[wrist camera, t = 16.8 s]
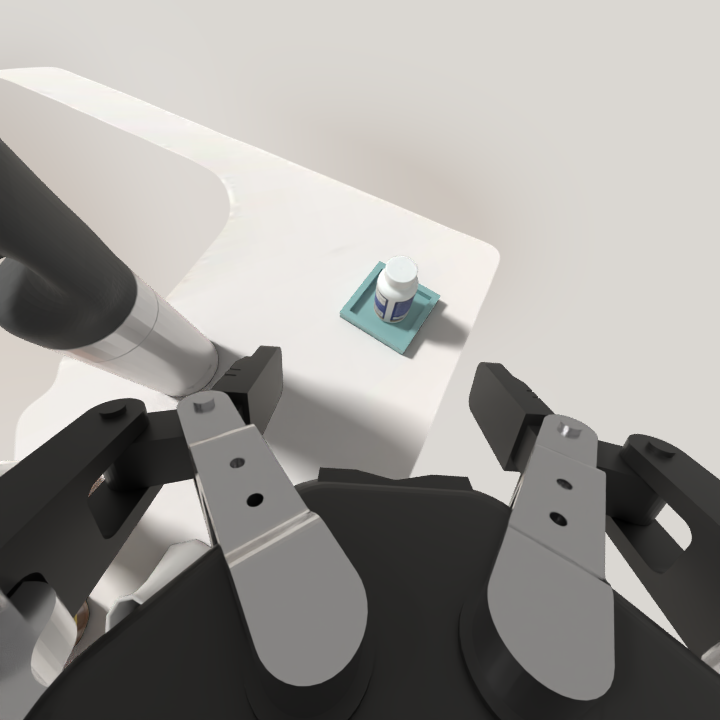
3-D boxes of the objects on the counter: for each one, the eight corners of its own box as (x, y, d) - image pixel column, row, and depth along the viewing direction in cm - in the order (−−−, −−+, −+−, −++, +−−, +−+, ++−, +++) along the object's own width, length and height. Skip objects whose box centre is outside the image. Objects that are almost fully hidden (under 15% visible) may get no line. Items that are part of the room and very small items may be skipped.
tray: (340, 316, 45) (339, 311, 43) (378, 266, 48) (379, 261, 47) (402, 355, 43) (403, 351, 42) (437, 300, 47) (440, 295, 45)
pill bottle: (411, 298, 46) (427, 256, 37) (404, 328, 44) (419, 292, 35) (377, 289, 46) (385, 245, 37) (369, 318, 44) (375, 281, 35)
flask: (167, 534, 35) (100, 560, 25) (228, 543, 35) (184, 572, 25) (143, 609, 32) (60, 669, 23) (209, 619, 32) (153, 683, 23)
